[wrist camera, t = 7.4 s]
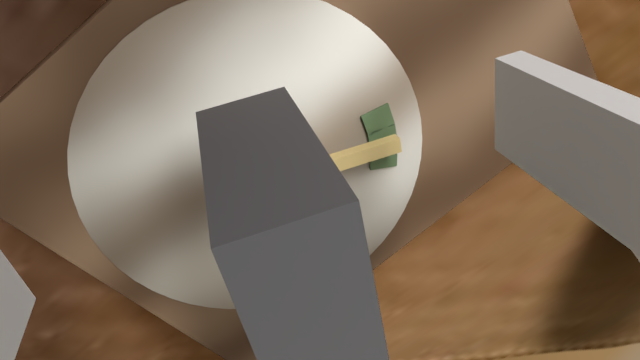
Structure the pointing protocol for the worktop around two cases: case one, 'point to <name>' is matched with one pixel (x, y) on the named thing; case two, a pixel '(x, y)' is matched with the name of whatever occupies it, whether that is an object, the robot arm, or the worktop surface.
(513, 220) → the worktop surface
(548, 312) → the worktop surface
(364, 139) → the tuner board
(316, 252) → the peg knob
